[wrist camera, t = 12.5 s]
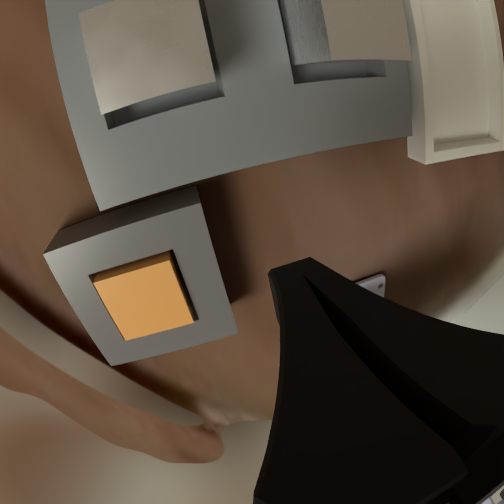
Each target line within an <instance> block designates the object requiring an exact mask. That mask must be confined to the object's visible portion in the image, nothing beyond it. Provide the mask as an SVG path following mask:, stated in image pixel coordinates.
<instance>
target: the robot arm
mask: <svg viewBox="0 0 504 504" xmlns="http://www.w3.org/2000/svg"><path fill="white" fill-rule="evenodd" d="M268 277H269V282H270V287H271V291H272V296H273V301H274V306H275V311H276V316H277V320H278V322H279V325H280V367H279V379H278V388H277V397H276V404H275V410H274V416H273V420H272V425H271V430H270V435H269V440H268V444H267V449H266V453H265V456H264V460H263V464H262V467H261V470H260V473H259V477H258V480H257V484H256V487H255V490H254V495H253V496H254V498H253V504H494V502H493V500H492V499H491V497H490V496H492V495H493V494H494V493H495V492H496V491H498V490H499V489H500V488H501V487H502V486H503V485H504V335H503V334H497V333H491V332H486V331H481V330H476V329H471V328H467V327H463V326H460V325H456V324H453V323H449V322H446V321H442V320H439V319H436V318H433V317H430V316H427V315H424V314H422V313H419V312H416V311H414V310H411V309H408V308H406V307H404V306H401V305H399V304H397V303H394V302H392V301H390V300H388V299H386V298H384V292H385V281H386V278H385V276H384V275H383V274H378V275H376V276H373V277H370V278H367V279H365V280H362V281H359V282H356V283H354V282H352V281H351V280H349V279H347V278H345V277H344V276H342V275H340V274H338V273H337V272H335V271H333V270H331V269H330V268H328V267H326V266H325V265H323V264H321V263H320V262H318V261H316V260H314V259H313V258H311V257H309V258H305V259H302V260H299V261H296V262H293V263H290V264H286V265H283V266H280V267H277V268H274V269H271V270H270V271H269V273H268ZM379 284H380V285H379ZM500 496H501V498H502V500H501V501H500V502H499V503H497V504H504V489H503V490H502V491H501V493H500Z"/></svg>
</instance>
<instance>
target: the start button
mask: <svg viewBox="0 0 504 504" xmlns="http://www.w3.org/2000/svg"><path fill="white" fill-rule="evenodd" d="M93 284H94V286H95V287H96V289H97V291H98V293H99V295H100V297H101V299H102V300H103V302H104V304H105V306H106V308H107V309H108V311H109V313H110V315H111V317H112V318H113V320H114V322H115V323H116V325H117V327H118V329H119V330H120V332H121V334H122V335H123V337H124V339H125V340H126V341H127V340H131V339H135V338H139V337H142V336H146V335H150V334H154V333H158V332H162V331H166V330H169V329H173V328H177V327H181V326H184V325H188V324H191V323H194V319H193V312H192V305H191V297H190V294H189V291H188V289H187V286H186V283H185V281H184V278H183V275H182V273H181V270H180V267H179V264H178V262H177V259H176V256H175V253H174V251H173V249H172V250H168V251H165V252H162V253H158V254H155V255H152V256H148V257H145V258H142V259H138V260H135V261H132V262H128V263H125V264H122V265H119V266H115V267H112V268H109V269H106V270H102V271H99V272H96V276H95V279H94V282H93Z"/></svg>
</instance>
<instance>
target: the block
mask: <svg viewBox="0 0 504 504" xmlns="http://www.w3.org/2000/svg"><path fill="white" fill-rule="evenodd" d="M79 18H80V24H81V30H82V35H83V40H84V45H85V50H86V54H87V59H88V64H89V68H90V72H91V77H92V81H93V85H94V89H95V93H96V97H97V101H98V105H99V108H100V112H101V115H103V114H105V113H108V112H111V111H114V110H117V109H120V108H123V107H126V106H129V105H132V104H135V103H139V102H142V101H145V100H148V99H151V98H155V97H158V96H162V95H165V94H169V93H172V92H176V91H180V90H184V89H187V88H191V87H196V86H200V85H204V84H207V83H211V82H215V81H216V79H215V75H214V70H213V66H212V61H211V56H210V52H209V47H208V43H207V38H206V33H205V29H204V24H203V20H202V15H201V10H200V6H199V1H198V0H113V1H110V2H107V3H105V4H102V5H99V6H96V7H94V8H91V9H88V10H86V11H83V12H81V13H79Z"/></svg>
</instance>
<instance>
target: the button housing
mask: <svg viewBox="0 0 504 504" xmlns="http://www.w3.org/2000/svg"><path fill="white" fill-rule="evenodd" d="M172 249H173V251H174V253H175V256H176V259H177V262H178V264H179V267H180V270H181V273H182V275H183V278H184V281H185V283H186V286H187V289H188V291H189V294H190V297H191V305H192V312H193V319H194V323H191V324H188V325H184V326H181V327H177V328H173V329H169V330H166V331H162V332H158V333H154V334H150V335H146V336H142V337H139V338H135V339H131V340H127V341H126V340H125V339H124V337H123V335H122V334H121V332H120V330H119V329H118V327H117V325H116V323H115V322H114V320H113V318H112V317H111V315H110V313H109V311H108V309H107V308H106V306H105V304H104V302H103V300H102V299H101V297H100V295H99V293H98V291H97V289H96V287H95V286H94V284H93V282H94V279H95V276H96V272H99V271H102V270H106V269H109V268H112V267H115V266H119V265H122V264H125V263H128V262H132V261H135V260H138V259H142V258H145V257H148V256H152V255H155V254H158V253H162V252H165V251H168V250H172ZM43 255H44V257H45V259H46V261H47V263H48V265H49V267H50V269H51V271H52V273H53V274H54V276H55V278H56V280H57V282H58V284H59V285H60V287H61V289H62V291H63V292H64V294H65V296H66V298H67V299H68V301H69V303H70V304H71V306H72V308H73V309H74V311H75V313H76V314H77V316H78V318H79V319H80V321H81V322H82V324H83V326H84V327H85V329H86V330H87V332H88V333H89V335H90V336H91V338H92V339H93V341H94V342H95V344H96V345H97V347H98V348H99V350H100V351H101V353H102V354H103V355H104V357H105V358H106V360H107V361H108V362H109V364H110V365H111V366H113V365H118V364H122V363H127V362H131V361H136V360H140V359H144V358H148V357H152V356H157V355H161V354H165V353H169V352H173V351H176V350H180V349H184V348H188V347H192V346H195V345H199V344H203V343H206V342H210V341H214V340H217V339H221V338H224V337H228V336H231V335H235V334H238V330H237V326H236V323H235V320H234V316H233V313H232V310H231V306H230V303H229V300H228V297H227V293H226V290H225V286H224V283H223V280H222V276H221V273H220V270H219V266H218V263H217V259H216V256H215V252H214V249H213V245H212V242H211V238H210V235H209V231H208V228H207V224H206V220H205V217H204V213H203V210H202V206H201V202H200V199H199V195H198V191H197V187H196V185H195V186H191V187H188V188H184V189H181V190H177V191H174V192H171V193H167V194H164V195H161V196H157V197H154V198H151V199H148V200H145V201H141V202H138V203H135V204H132V205H129V206H126V207H123V208H120V209H117V210H114V211H111V212H108V213H105V214H102V215H99V216H97V217H94V218H91V219H88V220H85V221H82V222H80V223H77V224H74V225H72V226H69V227H66V228H63V229H61V230H58V232H57V233H56V235H55V236H54V238H53V239H52V241H51V242H50V244H49V245H48V247H47V249H46V250H45V252H44V253H43Z"/></svg>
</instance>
